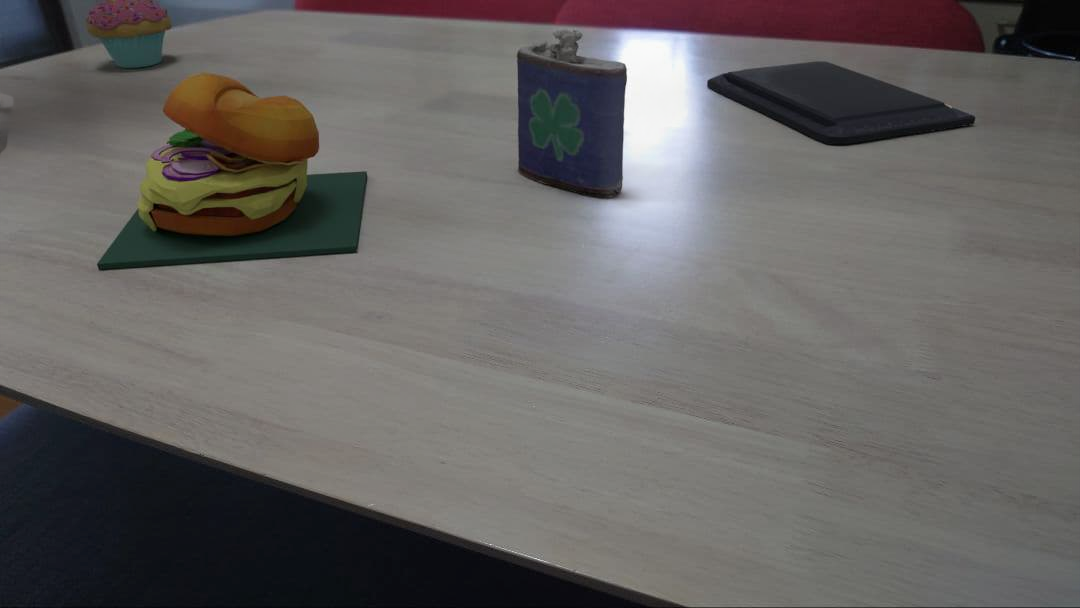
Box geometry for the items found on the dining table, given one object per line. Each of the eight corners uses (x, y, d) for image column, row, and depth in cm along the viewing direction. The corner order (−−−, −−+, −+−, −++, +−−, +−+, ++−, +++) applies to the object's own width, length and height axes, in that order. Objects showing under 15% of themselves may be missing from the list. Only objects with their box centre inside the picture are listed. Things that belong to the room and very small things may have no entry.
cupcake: (128, 76, 88) (96, -45, 82) (81, 66, 92) (47, -49, 86) (195, 59, 94) (170, -54, 88) (148, 51, 98) (121, -58, 92)
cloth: (98, 269, 48) (96, 263, 48) (157, 188, 59) (156, 183, 59) (356, 252, 50) (356, 246, 50) (367, 176, 61) (366, 171, 61)
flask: (629, 191, 58) (635, 34, 52) (603, 203, 56) (607, 42, 51) (533, 162, 63) (530, 17, 58) (507, 172, 61) (501, 24, 56)
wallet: (705, 66, 81) (836, 53, 85) (703, 85, 82) (832, 71, 86) (828, 124, 64) (983, 105, 68) (824, 148, 65) (977, 127, 69)
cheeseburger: (132, 201, 56) (134, 52, 52) (292, 208, 61) (304, 73, 57) (142, 258, 48) (145, 86, 44) (325, 261, 53) (342, 107, 49)
